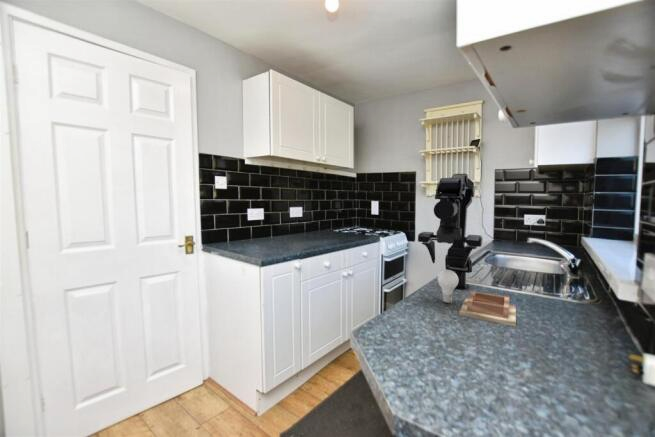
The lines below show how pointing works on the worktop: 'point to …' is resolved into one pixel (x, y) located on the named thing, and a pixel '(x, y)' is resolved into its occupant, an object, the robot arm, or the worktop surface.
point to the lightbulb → (447, 284)
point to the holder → (489, 308)
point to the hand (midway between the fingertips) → (448, 264)
